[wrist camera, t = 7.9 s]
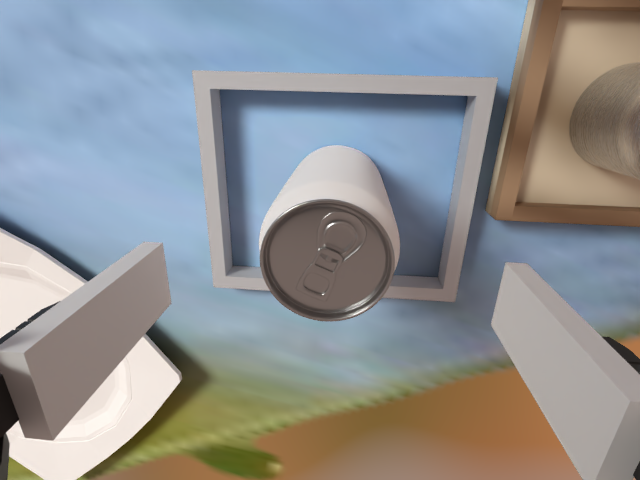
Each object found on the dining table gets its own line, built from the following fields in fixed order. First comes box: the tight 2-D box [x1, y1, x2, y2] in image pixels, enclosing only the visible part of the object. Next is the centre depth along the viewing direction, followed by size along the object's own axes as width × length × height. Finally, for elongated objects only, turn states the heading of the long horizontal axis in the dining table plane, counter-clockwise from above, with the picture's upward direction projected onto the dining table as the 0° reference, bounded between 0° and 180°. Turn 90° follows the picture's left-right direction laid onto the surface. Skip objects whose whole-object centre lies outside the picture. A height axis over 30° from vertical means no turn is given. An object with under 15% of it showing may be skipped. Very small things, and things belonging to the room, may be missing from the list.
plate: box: [0, 228, 182, 480], centre depth 34 cm, size 24×24×3 cm
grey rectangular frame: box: [192, 70, 498, 302], centre depth 25 cm, size 15×18×2 cm
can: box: [259, 145, 400, 321], centre depth 21 cm, size 6×6×12 cm
